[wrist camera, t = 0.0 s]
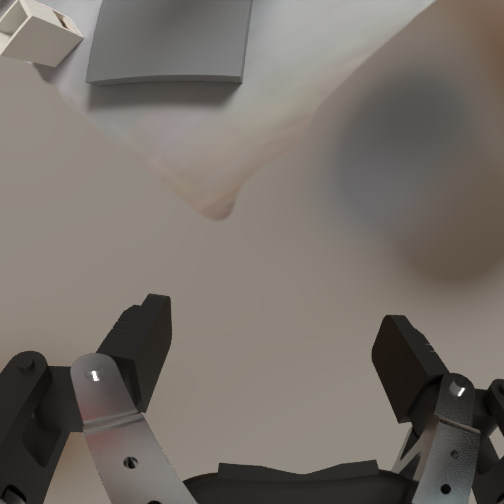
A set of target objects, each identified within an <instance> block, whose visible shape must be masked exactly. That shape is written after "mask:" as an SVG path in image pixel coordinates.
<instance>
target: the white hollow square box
mask: <svg viewBox="0 0 504 504" xmlns="http://www.w3.org/2000/svg"><path fill="white" fill-rule="evenodd" d="M62 24H63V25H64V26H65V28H64V27H63V26H62ZM83 39H84V37H83V36H82V34H81V33H80V32H79V30H78V29H77V27H76V26H75V24H74V23H73V21H72V20H71V19H70V17H68V16H66V15H64V14H62V13H60V12H58V11H56V10H54V9H52V8H50V7H48V6H46V5H44V4H41V3H39V2H37V1H35V0H16V1H15V2H14V3H13V4H12V5H11V7H10V8H9V9H8V10H7V11H6V13H5V14H4V15H3V16H2V18H1V19H0V56H5V57H10V58H15V59H20V60H25V61H30V62H34V63H38V64H43V65H47V66H51V67H55V68H56V66H57V65H58V64H59V63H60V62H61V61H62V60H63V59H64V58H65V57H66V56H67V55H68V54H69V53H70V52H71V51H72V50H73V49H74V48H75V47H76V46H77V45H78V44H79V43H80V42H81V41H82V40H83Z"/></svg>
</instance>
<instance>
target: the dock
mask: <svg viewBox="0 0 504 504" xmlns="http://www.w3.org/2000/svg"><path fill="white" fill-rule="evenodd" d="M251 8H252V0H103V1H102V5H101V8H100V12H99V16H98V20H97V24H96V28H95V33H94V38H93V42H92V47H91V53H90V58H89V64H88V70H87V77H86V83H90V84H93V85H97V86H107V85H116V84H127V83H141V82H161V81H212V82H233V83H242V80H243V71H244V63H245V54H246V46H247V38H248V30H249V23H250V15H251Z"/></svg>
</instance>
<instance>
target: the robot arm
mask: <svg viewBox="0 0 504 504" xmlns="http://www.w3.org/2000/svg"><path fill="white" fill-rule="evenodd" d="M171 340H172V322H171V300H170V297H169V296H164V295H157V294H148V296H147V297H146V299H145V300H144V302H143V303H142V305H141V306H139V305H133V306H132V307H130V308H128V309H127V310H125V311H124V312H123V313H122V315H121V316H120V318H119V319H118V322H116V323H115V325H114V326H113V329H111V331H110V332H109V333H108V335H107V336H106V338H105V339H104V341H103V342H102V344H101V345H100V347H99V348H98V350H97V351H96V353H91V354H86V355H83V356H81V357H79V358H78V359H77V360H76V361H75V362H74V363H73V364H72V366H71V367H63V366H48V364H47V361H46V359H45V357H44V356H43V355H42V354H40V353H38V352H35V351H25V352H21V353H19V354H17V355H15V356H14V357H13V358H12V359H11V360H10V361H9V363H8V364H7V365H6V367H5V368H4V369H3V371H2V372H1V373H0V504H43V502H44V499H45V496H46V493H47V490H48V488H49V485H50V482H51V479H52V477H53V474H54V471H55V469H56V466H57V463H58V461H59V458H60V456H61V453H62V451H63V448H64V446H65V444H66V441H67V439H68V436H69V434H70V432H84V435H85V438H86V441H87V444H88V447H89V450H90V452H91V455H92V458H93V461H94V464H95V466H96V469H97V471H98V474H99V476H100V479H101V481H102V483H103V485H104V488H105V490H106V492H107V494H108V497H109V499H110V501H111V503H112V504H468V501H469V496H470V493H471V488H472V490H473V493H474V496H475V499H476V502H477V504H504V456H503V457H502V458H501V459H500V460H499V458H498V455H497V453H496V451H495V449H494V447H493V445H492V443H491V441H490V438H489V436H490V435H491V434H492V432H493V431H494V430H495V429H496V428H497V427H499V429H500V431H501V432H502V434H503V436H504V380H503V379H495V380H494V381H493V382H492V383H491V385H490V386H489V388H488V389H487V390H483V389H475V387H474V385H473V384H472V382H471V381H470V380H469V379H468V378H466V377H465V376H463V375H461V374H458V373H450V372H449V371H448V370H447V368H446V367H445V365H444V363H443V362H442V360H441V359H440V358H439V356H438V355H437V353H436V352H434V349H433V347H432V346H431V345H429V344H430V343H429V342H428V340H427V339H426V338H425V336H424V335H423V334H421V333H420V332H419V331H418V330H417V329H415V328H414V327H413V326H412V325H411V323H410V322H409V321H408V319H407V318H406V316H404V315H386V316H385V317H384V319H383V321H382V324H381V326H380V329H379V332H378V335H377V337H376V340H375V343H374V345H373V348H372V362H373V364H374V367H375V369H376V371H377V373H378V376H379V378H380V380H381V383H382V385H383V387H384V389H385V392H386V394H387V396H388V399H389V401H390V404H391V406H392V409H393V411H394V413H395V416H396V418H397V421H398V423H406V422H411V423H412V426H411V427H410V429H409V430H408V433H407V435H406V438H405V440H404V443H403V445H402V448H401V450H400V452H399V454H398V457H397V459H396V461H395V464H394V466H393V468H392V470H391V471H387V470H381V469H379V468H378V465H377V461H376V460H370V461H362V462H354V463H346V464H339V465H336V466H333V467H330V468H326V469H324V470H320V471H316V472H312V473H309V474H295V473H290V472H285V471H281V470H276V469H272V468H267V467H263V466H254V465H238V464H226V463H219V468H218V472H217V473H208V474H203V475H199V476H195V477H192V478H189V479H186V480H184V481H181V479H180V477H179V476H178V474H177V473H176V471H175V470H174V468H173V467H172V465H171V463H170V462H169V460H168V458H167V457H166V455H165V454H164V452H163V450H162V449H161V447H160V445H159V444H158V442H157V440H156V438H155V436H154V435H153V433H152V431H151V429H150V427H149V425H148V424H147V422H146V420H145V418H144V416H143V415H142V413H141V412H143V413H146V410H147V408H148V405H149V402H150V399H151V396H152V394H153V391H154V388H155V385H156V383H157V380H158V377H159V374H160V372H161V369H162V367H163V364H164V362H165V359H166V356H167V354H168V351H169V348H170V345H171ZM138 411H139V412H138Z"/></svg>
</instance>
